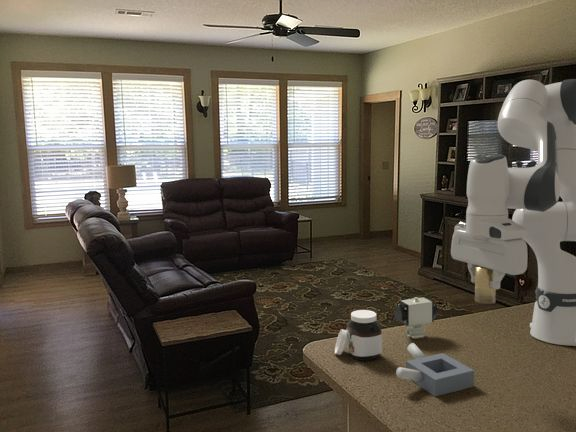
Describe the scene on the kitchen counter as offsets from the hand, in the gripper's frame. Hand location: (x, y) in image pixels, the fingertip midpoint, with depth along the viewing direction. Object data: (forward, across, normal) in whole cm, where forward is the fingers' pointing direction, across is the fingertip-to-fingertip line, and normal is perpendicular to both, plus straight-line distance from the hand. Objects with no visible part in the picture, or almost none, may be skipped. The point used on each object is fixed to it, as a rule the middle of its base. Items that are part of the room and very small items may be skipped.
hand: (485, 285), depth 116 cm
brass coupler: (+4, 0, 0) cm, 4 cm away
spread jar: (+24, -27, -19) cm, 41 cm away
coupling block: (+24, -8, -12) cm, 28 cm away
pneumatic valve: (+24, -31, +3) cm, 39 cm away
